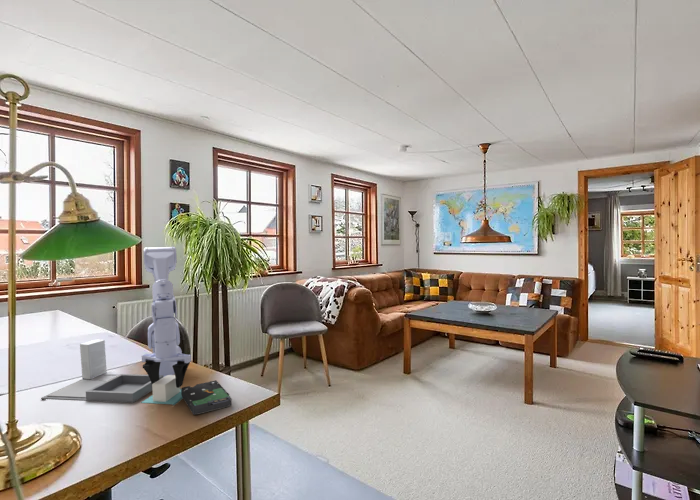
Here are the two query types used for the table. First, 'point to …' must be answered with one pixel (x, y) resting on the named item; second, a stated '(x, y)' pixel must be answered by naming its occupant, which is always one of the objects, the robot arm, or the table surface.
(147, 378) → the case
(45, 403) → the table surface
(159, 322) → the robot arm
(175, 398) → the teal pad
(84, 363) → the skincare box
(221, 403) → the disk drive
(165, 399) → the block
